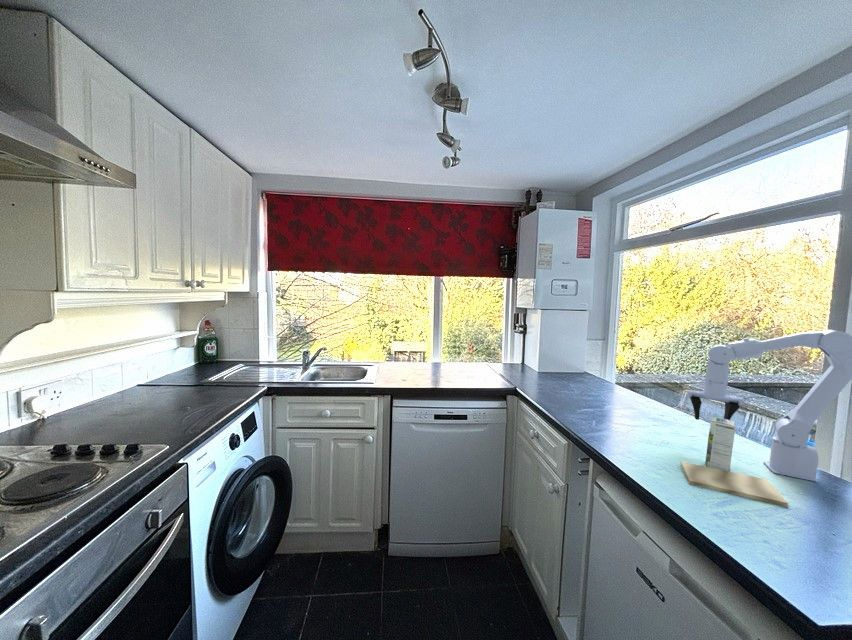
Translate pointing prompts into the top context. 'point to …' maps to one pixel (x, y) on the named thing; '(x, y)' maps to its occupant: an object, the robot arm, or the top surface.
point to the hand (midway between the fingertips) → (710, 421)
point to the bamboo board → (732, 483)
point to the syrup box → (720, 444)
